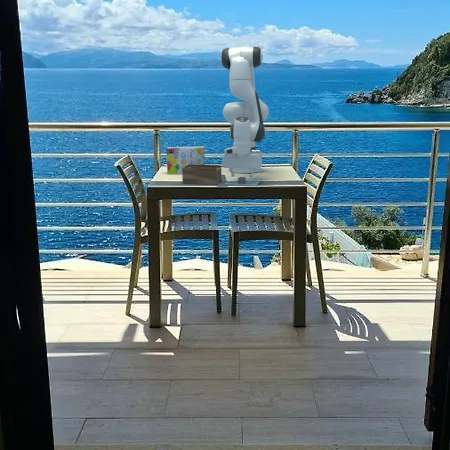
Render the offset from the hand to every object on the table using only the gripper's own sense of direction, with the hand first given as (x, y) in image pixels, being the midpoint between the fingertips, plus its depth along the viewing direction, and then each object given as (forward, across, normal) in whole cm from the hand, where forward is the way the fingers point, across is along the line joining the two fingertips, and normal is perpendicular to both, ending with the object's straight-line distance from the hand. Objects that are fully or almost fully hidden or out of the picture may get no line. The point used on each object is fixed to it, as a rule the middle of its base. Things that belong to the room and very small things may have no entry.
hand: (241, 176), depth 299 cm
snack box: (+4, +36, -24) cm, 43 cm away
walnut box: (+3, +21, 0) cm, 21 cm away
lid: (+4, 0, 0) cm, 4 cm away
